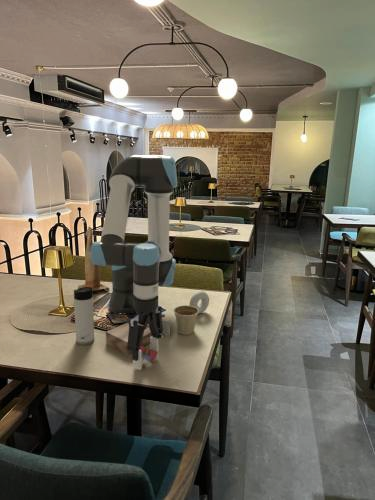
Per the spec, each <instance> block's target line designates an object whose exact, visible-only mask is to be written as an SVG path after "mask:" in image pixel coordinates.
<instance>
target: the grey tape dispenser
mask: <svg viewBox="0 0 375 500" xmlns="http://www.w3.org/2000/svg"><path fill="white" fill-rule="evenodd" d="M162 324H163V333H164V335H165V336H170V334H171V333H170V332H171V330H170V329H171V328H170V327H171V326H170V325H171V321H170V320H169V319H167V320H166V319H162ZM158 329H160V328H158Z"/></svg>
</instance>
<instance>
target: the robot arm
mask: <svg viewBox="0 0 375 500" xmlns="http://www.w3.org/2000/svg"><path fill="white" fill-rule="evenodd" d="M108 185H109V187H110V190H109V195H108V202H107V206H106V211H105V215H104V221H103V226H102V231H101V235H100V241H94V242H93V244H92V246H91V260H92V263H93V264H95V265H100V266H104V267H107V266H109V267H110V266H111V278H112V280H111V281H112V282H111V283H112V285H111V286H112V291H111V295H110V297H109V301H108V309H109V311H111V313H114V312H116V313H115V314H118V313H132V314H134V313H133V312H136V313H135V315H134V317H133V318H129V319H128V322H129V334H128V344H127V350H129V351H131V352H132V355H131V356H132V357H131V358H132V367H133V368H134V369H135V370H139V371H141V370H142V366H143V362H142V360H143V359H142V350H140V346H141V342H142V338H143V334H144V330H145V329H146V328H150V331H151V334H152V336H153V337H152V336H151V337H150V341H151V342H150V346H149V349H152V348H153V349H152V350H154V351H157V352H158V353H157V356H156V358H159V343H160V342H159V340H160V339H162V337H163V336H162V334H163V333H164V332H163V324H162V320H163V316H162V312H163V307H162V306H160V305H159V287H160V288H163V287H170V286H171V285H173V283H174V282H173V281H174V277H175V270H176V263H177V261H176V259H175V258H173V254H172V253H171V252H170V250H169V249H170V199H171V198H170V196H171V195H172V194H173V193H175V192H174V190H175V188H177V187H178V176H177V167H176V160H175V159H174V157H173V156H169V155H168V156H167V155H154V154H153V155H149V154H147V155H146V154H144V155H141V154H132V155H130V156H129V155H128V156H127V157H125V158H123V159H122V160H120V162H118V163H117V165H116V166H115V167H114V168H113V170H112V172H111V174H110V176H109V181H108ZM135 187H143V192H144V193H145V194H146V195H147V240H146V241H144V242H143V243H141V242H125V237H126V231H127V223H128V218H129V217H128V216H129V211H130V203H131V199H132V198H131V197H132V192H133V191H135ZM128 322H127V323H128ZM139 324H141V325H143V326H141V325H139ZM158 328H160V329H158ZM152 344H153V345H152ZM156 358H155V359H156Z"/></svg>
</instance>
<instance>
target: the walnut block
mask: <svg viewBox="0 0 375 500" xmlns="http://www.w3.org/2000/svg"><path fill="white" fill-rule="evenodd" d="M139 325H141V324H139ZM141 326H143V325H141ZM128 334H129V322H126V323H123V324H121V325H118V326H116V327H113V328H112V329H109V330H107V331H106V332H105V340H106V341H105V343H106V344H107V345H108V346H109V347H112V348H113V349H115V350H117V351H119V352H121V353H123V354H125V355H127V356H128V357H131V356H132V352H131V351H129V350H127V344H128ZM151 336H152V334H151V331H150V328H149V327H147V328H146V329H145V330H144V334H143V338H142V342H141V345H142V346H144V347H147V348H148V346H149V344H150V337H151ZM152 337H153V336H152ZM146 343H147V344H146ZM144 344H145V345H144ZM149 347H150V346H149Z"/></svg>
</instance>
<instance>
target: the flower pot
mask: <svg viewBox="0 0 375 500" xmlns="http://www.w3.org/2000/svg"><path fill="white" fill-rule="evenodd" d="M173 313H174V315H175V318H176V327H177V332H178V333H179V334H182V335H184V336H185V335H186V336H187V335H191V334H193V333H194V332H195V327H196V321H197V317H198V315H199V314H198V313H199V310H198V309H197V308H196V307H194V306H190V305H179V306H176V307H174V309H173Z"/></svg>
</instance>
